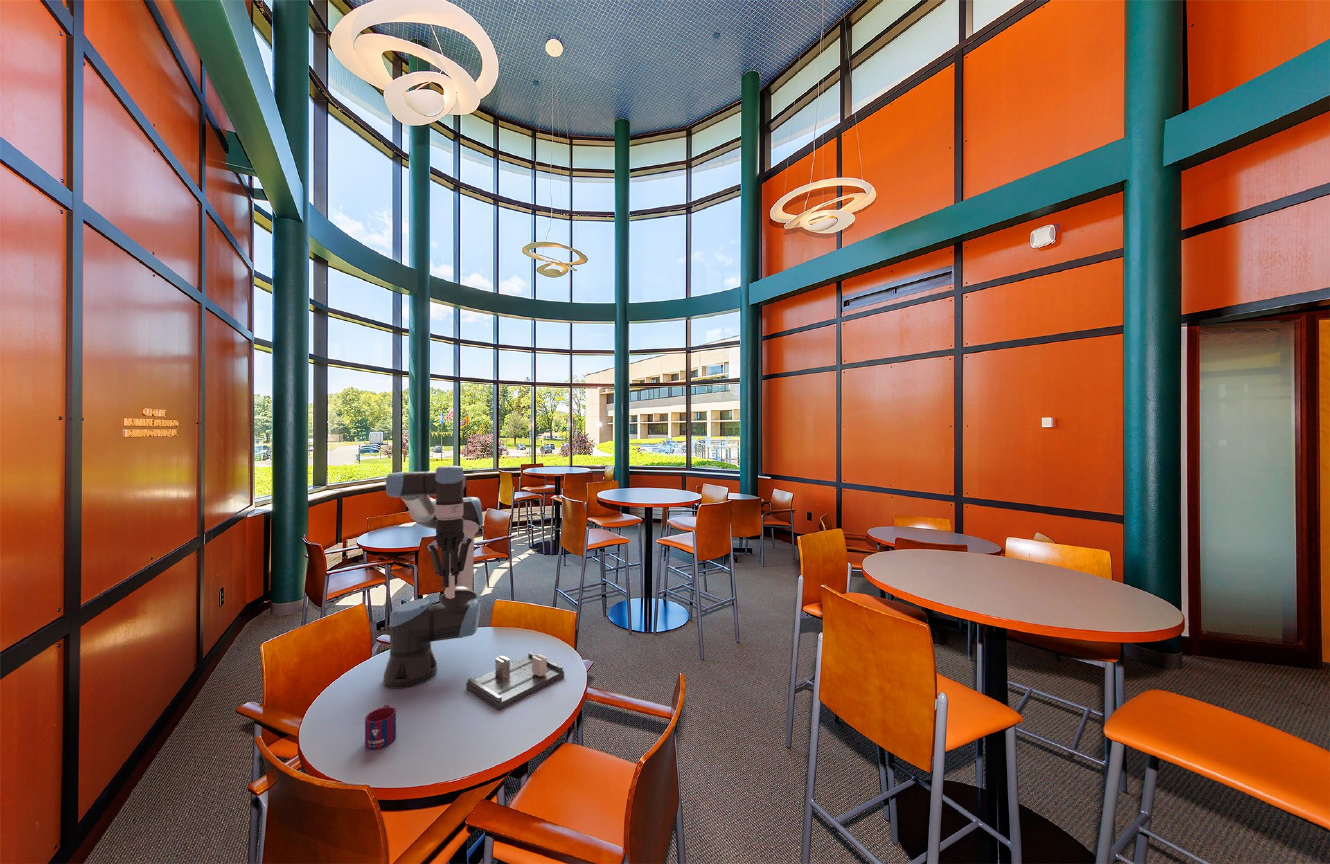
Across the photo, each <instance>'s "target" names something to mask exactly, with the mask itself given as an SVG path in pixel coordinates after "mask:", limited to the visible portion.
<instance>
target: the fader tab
mask: <svg viewBox="0 0 1330 864" xmlns="http://www.w3.org/2000/svg"><path fill="white" fill-rule="evenodd" d="M534 654H535V653H534ZM547 660H548V659H547V657H546V656H545V655H543V654H539V653H538V654H537V653H536V654H535V656H533V657H532V673H534V674H536V675H538V676H543V675H545V674H547Z"/></svg>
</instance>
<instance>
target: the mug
mask: <svg viewBox="0 0 1330 864" xmlns="http://www.w3.org/2000/svg"><path fill="white" fill-rule="evenodd" d="M396 738H397V709H396V707H393V706H390V704H384V706H383V707H380V708H376V709H374V710H372V711H370V712H369V713H368V714H367V715H366V716H365V718H364V747H365V748H366V749H367V750H370V751H377V750H380V749H384V748H385V747H388V746H389V745H391V744H392V743H393V742H394V741H395V740H396Z"/></svg>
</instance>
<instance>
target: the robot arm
mask: <svg viewBox="0 0 1330 864" xmlns="http://www.w3.org/2000/svg"><path fill="white" fill-rule="evenodd" d="M466 485H467V477H466V475H465V474H464V468H463V466H461V465H444V466H438V467H436V469H435V470H434V471H399V472H391V473H389V474H388V475H387V477H386V481H385V491H386V492H385V493H386V495H387V496H388V497H390V498H400V499H401V501H403V502H404V504H405V505H406V507H407V508H408V515H409V517H410V518H411V520H412V521H413V522H415V523H417V524H418V525H421V526H422V527H425V528H428V529H432V530H433V529H434V530H435V536H434V540H433V541H432V542H431V543H430V544H429V543H428V544H426V545H425V546H426V547H425V548H427V550H428V552H429V554H430V557H431V561H432V565H433V569H434V572H435V575H437V576H439V577H441V578H442V587H443V588H445V590H444V591H445V592H444V593H443V594H442V595H441V596H440V598H439V602H438V603H437V602H436V603H432V601H431V599H429V598H418V599H414V600H410V601H406V602H403V603H401V604H399V605H398V606H396V607H394V608H393V610H392V611H391V613H390V615H389V616H390V617H389V625H388V626H389V658H388V661H387V663H386V667H385V669H384V671H383V673H384V674H383V685H384V686H385V687H387V688H390V689H404V688H409V687H413V686H417V685H420V684H423V683H425V682H427V681H428V680H430V679H432V678H433V677H435V675H436V673H437V672H438V663H437V659H436V658H435V655H434V653H433V650H432V642H440V641H445V640H446V641H447V640H454V639H462V638H467V637H470V636H474V635H475V634H476V632H477V630H478V628H479V622H480V616H481V608H482V600H481V598H478V597H477V593H476V592H475V591H473V583H474V582H473V579H474V577H473V576H474V553H475V552H474V551H475V535H476V534H477V533H478V532H479V531H480V528H481V527H483V526H484V519H483V510H482V509H483V508H482V502H481V500H480V498H479V497H475V496H467V497H464V490H465V488H466ZM431 496H435V498H432V497H431ZM438 547H439V548H440V553H441V557H440V555H439V551H438ZM440 558H441V559H440Z"/></svg>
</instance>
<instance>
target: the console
mask: <svg viewBox="0 0 1330 864" xmlns="http://www.w3.org/2000/svg"><path fill="white" fill-rule="evenodd" d="M533 656H535V653H534V652H531V651H530V652H528V655H527V656H524V657H523V658H521V659H517V660H516V661H512V662H511V663H510V661H511V659H510V658H509V657H506V656H504V655H498V657H496V658H494V659H495V665H494V666H495V670H493V671H491V672H488V673H486V674H483V675H482V676H479V677H476V678H475V679H474V678H472V677H469V678H467V682H466V683H465V684H466V685H465V686H466V687H465V688H466V691H467V692H470V693H471V694H473V695H474V696H476V697H477V698H479V699H480V700H482V701H483V702H484V703H486V704H488V705H490V706H491V707H492V708H494V709H496V710H497V711H501V710H503V709H506V708H507V707H510V706H511V705H513V704H515V703H517V702H519V701H521V700H523V699H525V698H527V697H529V696H531V695H532V694H534V693H536V692H538V691H540V690H543V689H544V688H546V687H548V686H550V685H552V684H554V683H556V682H559V681H560V680H562V679H564V678H565V670H564V668H563V666H561V665H559V664H557V663H555V662H553V661H551V660H549V659H547V674H545V675H543V676H538V675H536V674H534V673H532V657H533Z"/></svg>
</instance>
